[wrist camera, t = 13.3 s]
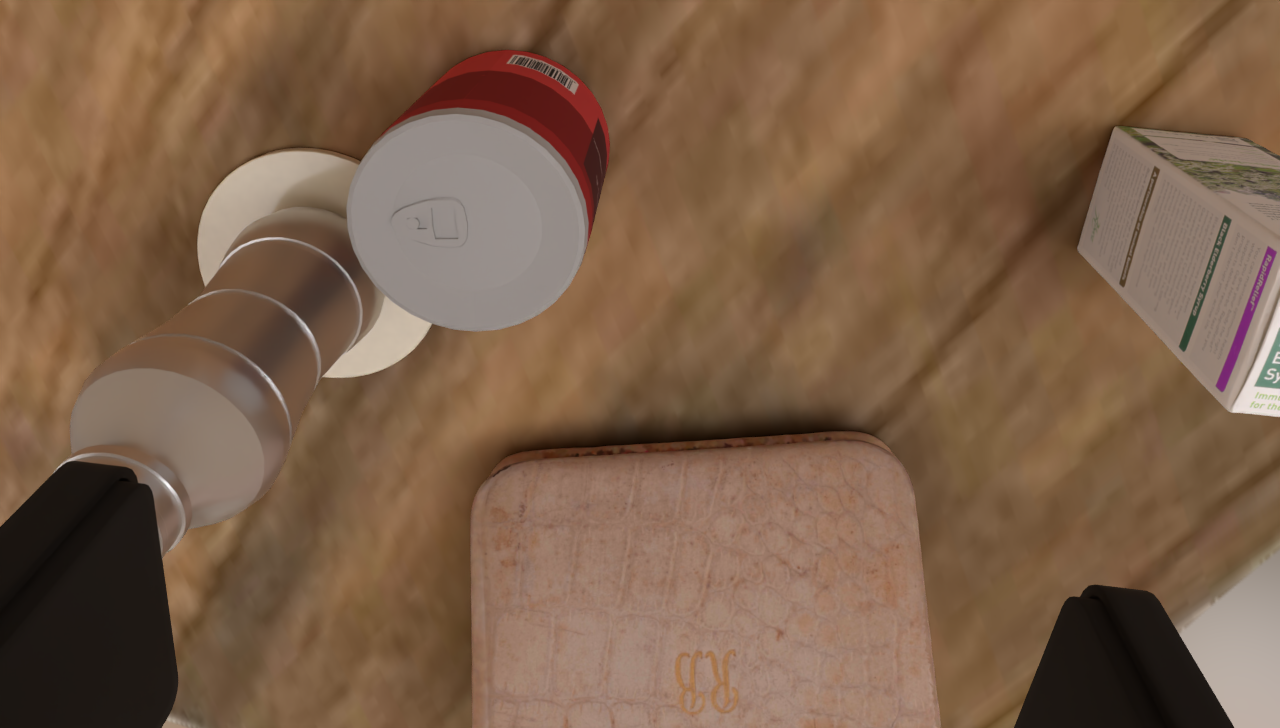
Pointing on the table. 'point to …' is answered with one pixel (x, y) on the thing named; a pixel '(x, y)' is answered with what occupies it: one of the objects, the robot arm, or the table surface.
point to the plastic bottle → (229, 371)
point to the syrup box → (1196, 253)
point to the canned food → (482, 193)
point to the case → (701, 587)
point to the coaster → (301, 184)
